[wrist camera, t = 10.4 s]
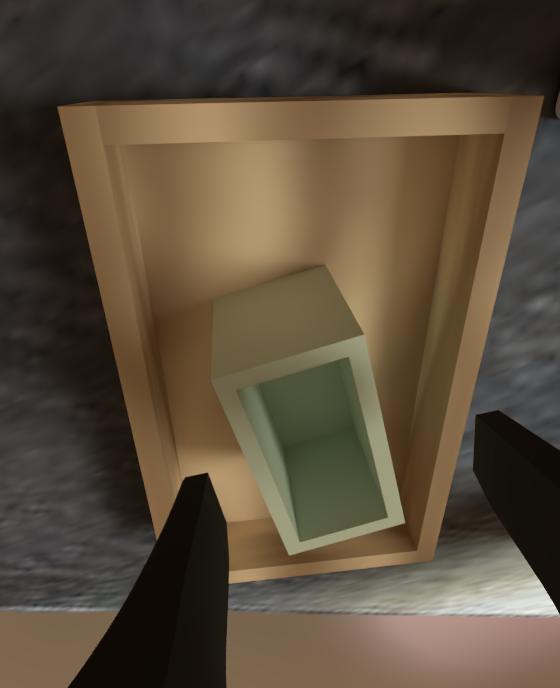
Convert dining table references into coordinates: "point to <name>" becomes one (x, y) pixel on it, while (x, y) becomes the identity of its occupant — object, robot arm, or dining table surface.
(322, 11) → the dining table surface
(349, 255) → the pine crate
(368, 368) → the small crate
